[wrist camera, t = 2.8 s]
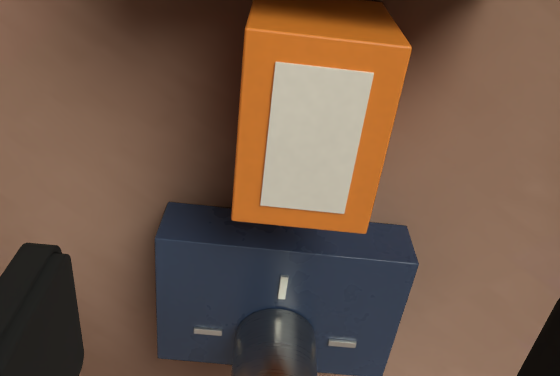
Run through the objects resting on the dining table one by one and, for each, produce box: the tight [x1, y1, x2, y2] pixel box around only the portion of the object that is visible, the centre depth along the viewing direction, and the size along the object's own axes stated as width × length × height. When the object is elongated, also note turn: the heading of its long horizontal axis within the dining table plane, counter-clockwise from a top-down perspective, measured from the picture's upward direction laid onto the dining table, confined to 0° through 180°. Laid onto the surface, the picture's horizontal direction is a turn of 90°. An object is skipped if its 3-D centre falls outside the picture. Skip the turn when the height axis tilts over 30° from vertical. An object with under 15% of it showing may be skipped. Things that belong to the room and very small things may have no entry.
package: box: [231, 0, 412, 234], centre depth 19 cm, size 5×7×6 cm
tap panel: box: [155, 202, 419, 376], centre depth 27 cm, size 12×10×3 cm
